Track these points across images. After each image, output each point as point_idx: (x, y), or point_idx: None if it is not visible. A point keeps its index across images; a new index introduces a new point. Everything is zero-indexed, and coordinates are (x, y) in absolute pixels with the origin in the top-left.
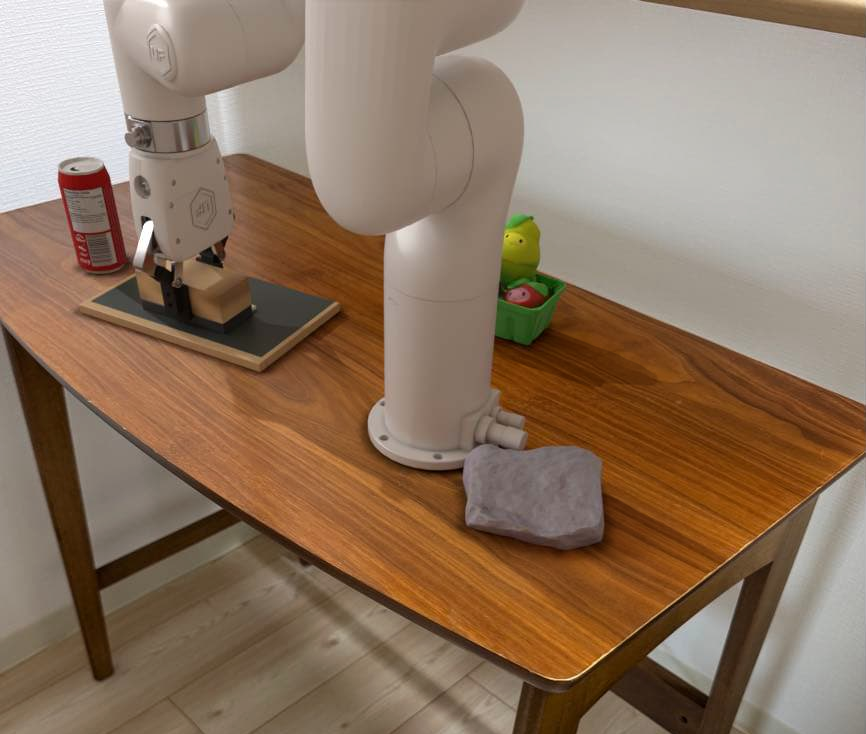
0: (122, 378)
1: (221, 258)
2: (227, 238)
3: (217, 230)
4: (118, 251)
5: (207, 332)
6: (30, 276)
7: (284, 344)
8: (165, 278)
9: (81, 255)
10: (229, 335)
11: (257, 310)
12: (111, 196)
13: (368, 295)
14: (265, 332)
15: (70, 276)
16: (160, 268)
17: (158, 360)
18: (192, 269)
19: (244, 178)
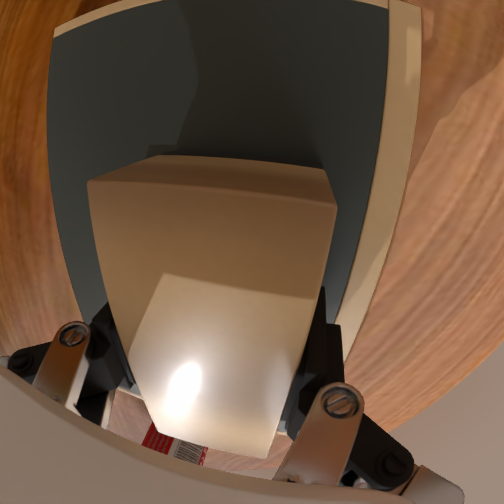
0: (494, 298)
1: (81, 331)
2: (23, 349)
3: (12, 446)
4: (167, 438)
5: None
6: (248, 462)
7: None
8: (380, 440)
9: (204, 458)
10: (321, 146)
11: (149, 152)
12: None
13: (21, 44)
14: (250, 54)
15: None
16: (397, 482)
17: (439, 275)
18: (182, 384)
19: (2, 344)
